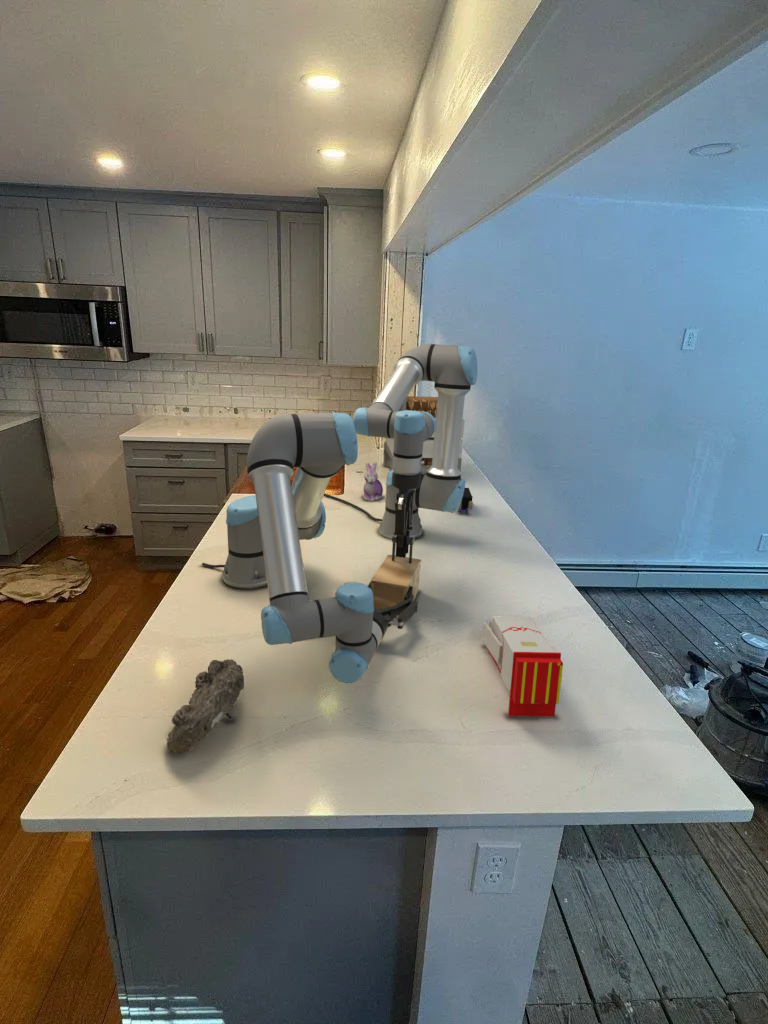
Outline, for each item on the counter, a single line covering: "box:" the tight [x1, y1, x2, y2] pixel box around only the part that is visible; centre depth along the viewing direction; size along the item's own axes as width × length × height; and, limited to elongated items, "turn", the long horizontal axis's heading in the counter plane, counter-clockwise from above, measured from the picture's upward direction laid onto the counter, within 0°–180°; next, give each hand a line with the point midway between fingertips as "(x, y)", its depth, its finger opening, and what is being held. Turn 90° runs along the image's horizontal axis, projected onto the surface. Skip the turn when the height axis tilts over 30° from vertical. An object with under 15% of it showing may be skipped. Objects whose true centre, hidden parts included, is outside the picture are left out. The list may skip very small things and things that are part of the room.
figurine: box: [362, 461, 384, 502], centre depth 233 cm, size 9×10×15 cm
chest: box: [371, 564, 421, 619], centre depth 152 cm, size 16×10×9 cm, turn 165°
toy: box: [481, 615, 564, 718], centre depth 123 cm, size 12×13×30 cm
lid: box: [370, 534, 422, 589], centre depth 150 cm, size 17×10×8 cm, turn 165°
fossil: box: [166, 658, 245, 754], centre depth 106 cm, size 22×10×15 cm
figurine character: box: [456, 487, 474, 514], centre depth 226 cm, size 7×8×15 cm
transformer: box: [383, 395, 465, 473], centre depth 268 cm, size 34×33×41 cm
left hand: (391, 587), depth 147 cm, fingers closed on chest, 9 cm apart
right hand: (401, 554), depth 155 cm, fingers closed on lid, 2 cm apart
